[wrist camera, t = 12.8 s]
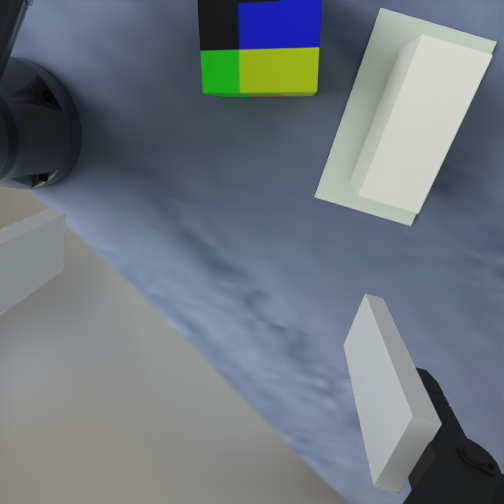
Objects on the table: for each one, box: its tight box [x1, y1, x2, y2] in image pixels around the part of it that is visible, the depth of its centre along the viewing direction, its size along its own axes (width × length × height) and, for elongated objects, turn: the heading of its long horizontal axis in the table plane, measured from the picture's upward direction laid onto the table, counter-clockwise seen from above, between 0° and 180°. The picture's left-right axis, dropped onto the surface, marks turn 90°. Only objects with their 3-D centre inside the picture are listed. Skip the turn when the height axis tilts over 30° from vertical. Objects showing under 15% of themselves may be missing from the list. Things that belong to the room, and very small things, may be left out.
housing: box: [349, 34, 493, 214], centre depth 36 cm, size 14×6×7 cm, turn 165°
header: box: [315, 8, 497, 226], centre depth 38 cm, size 12×20×7 cm, turn 165°
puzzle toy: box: [198, 0, 322, 97], centre depth 35 cm, size 10×10×10 cm
